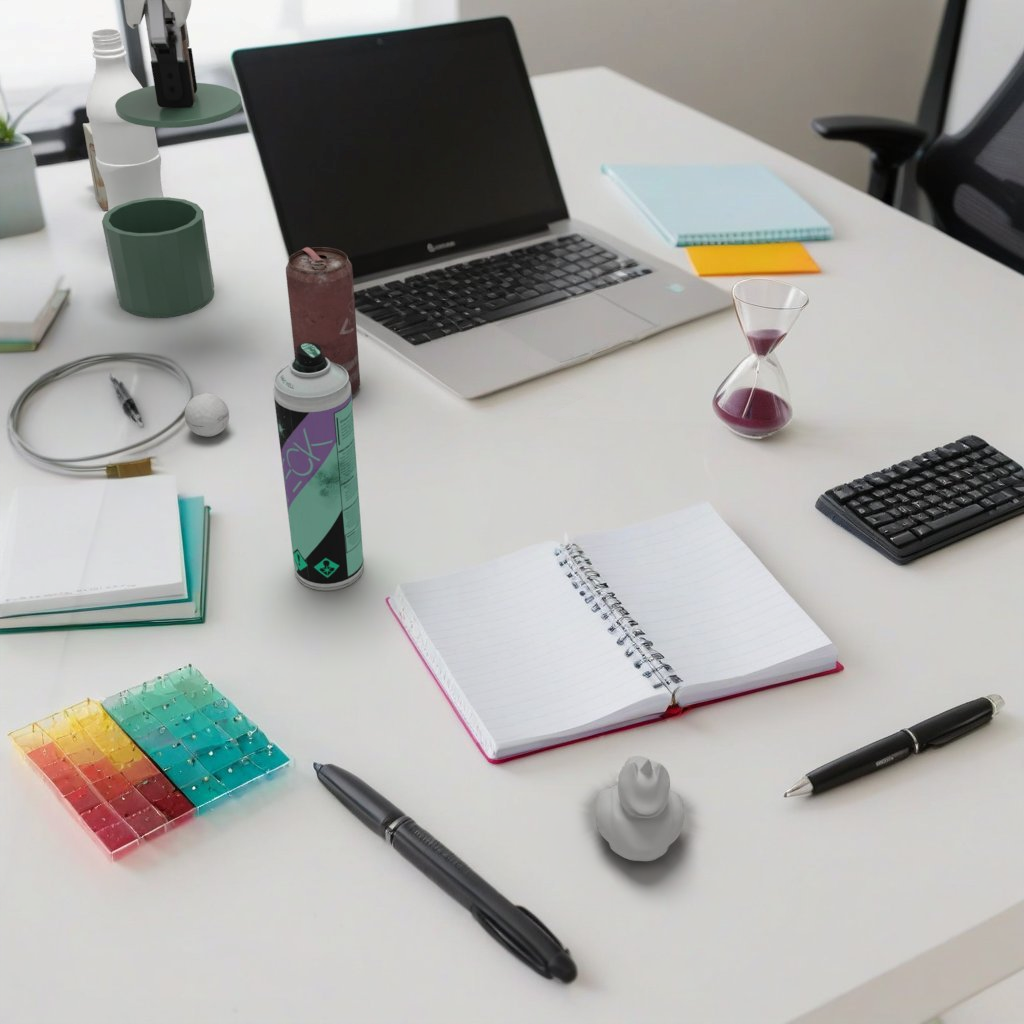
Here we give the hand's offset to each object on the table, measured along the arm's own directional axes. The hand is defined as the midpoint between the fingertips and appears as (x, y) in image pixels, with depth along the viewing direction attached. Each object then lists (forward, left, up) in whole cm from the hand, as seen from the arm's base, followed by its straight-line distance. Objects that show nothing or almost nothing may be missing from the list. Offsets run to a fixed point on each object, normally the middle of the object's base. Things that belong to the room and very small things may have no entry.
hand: (177, 97), depth 107 cm
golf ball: (+1, -19, -25) cm, 31 cm away
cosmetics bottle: (-15, +38, -25) cm, 48 cm away
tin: (-6, +10, -25) cm, 28 cm away
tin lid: (0, 0, -1) cm, 1 cm away
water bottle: (-10, +23, -25) cm, 36 cm away
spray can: (+12, -40, -25) cm, 48 cm away
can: (+12, -12, -25) cm, 30 cm away
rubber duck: (+31, -68, -25) cm, 79 cm away
